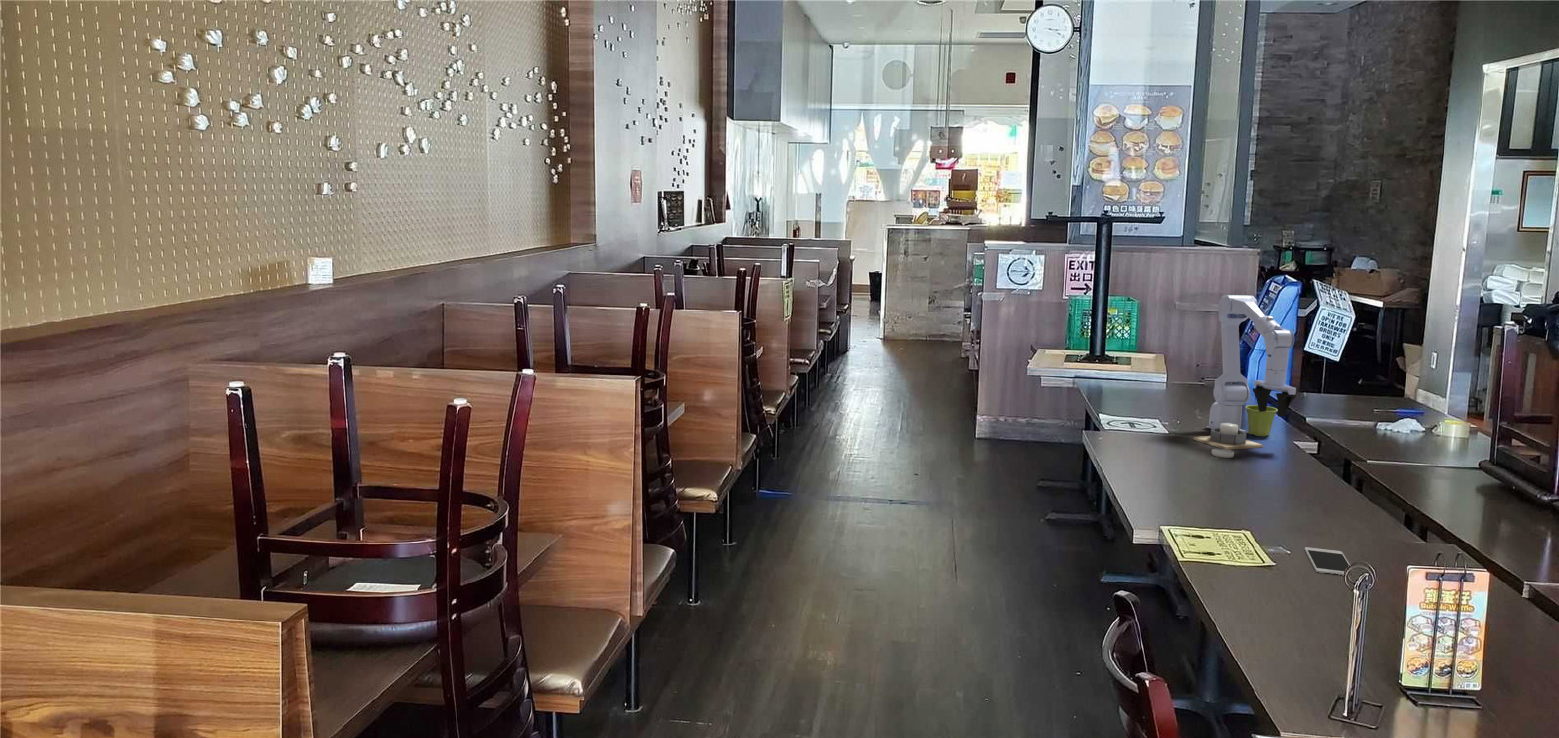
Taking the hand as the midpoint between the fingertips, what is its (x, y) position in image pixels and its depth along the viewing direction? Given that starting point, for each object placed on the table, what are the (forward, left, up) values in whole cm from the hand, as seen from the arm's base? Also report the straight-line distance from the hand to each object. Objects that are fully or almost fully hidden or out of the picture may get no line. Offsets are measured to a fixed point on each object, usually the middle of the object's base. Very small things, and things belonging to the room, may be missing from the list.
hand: (1271, 413), depth 318 cm
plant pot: (-15, +11, -11) cm, 21 cm away
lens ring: (-7, -9, -10) cm, 15 cm away
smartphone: (+87, -70, -11) cm, 112 cm away
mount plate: (-7, -9, -10) cm, 15 cm away
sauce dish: (+5, -22, -11) cm, 25 cm away
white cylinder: (-7, -9, -10) cm, 15 cm away
